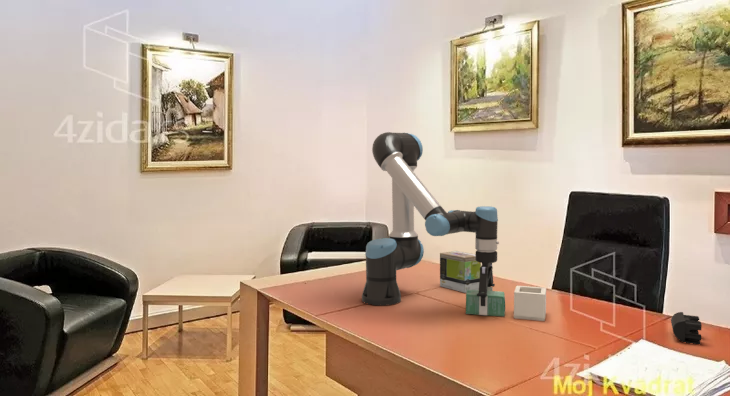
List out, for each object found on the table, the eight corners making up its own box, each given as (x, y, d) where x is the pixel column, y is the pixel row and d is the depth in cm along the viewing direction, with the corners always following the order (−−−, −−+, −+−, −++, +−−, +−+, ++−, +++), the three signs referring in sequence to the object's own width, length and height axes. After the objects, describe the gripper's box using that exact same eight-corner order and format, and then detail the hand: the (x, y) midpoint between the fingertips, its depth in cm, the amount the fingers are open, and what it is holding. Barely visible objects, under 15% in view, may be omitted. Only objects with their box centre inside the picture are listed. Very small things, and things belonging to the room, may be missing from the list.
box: (505, 317, 181) (505, 295, 181) (465, 314, 184) (465, 293, 184) (504, 311, 188) (504, 290, 188) (466, 309, 191) (466, 288, 191)
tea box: (481, 290, 218) (481, 254, 217) (464, 293, 213) (464, 257, 212) (456, 283, 231) (456, 249, 230) (439, 286, 225) (438, 252, 224)
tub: (513, 318, 179) (514, 292, 179) (516, 310, 189) (516, 285, 188) (544, 321, 176) (545, 294, 175) (545, 312, 185) (546, 287, 184)
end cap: (670, 331, 164) (671, 310, 164) (697, 335, 161) (698, 313, 160) (672, 342, 155) (673, 319, 155) (700, 345, 152) (701, 322, 151)
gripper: (492, 257, 173) (492, 320, 175) (501, 245, 196) (500, 301, 198) (469, 256, 176) (469, 318, 177) (480, 244, 199) (480, 299, 200)
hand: (486, 309), depth 188 cm, fingers open, 13 cm apart
